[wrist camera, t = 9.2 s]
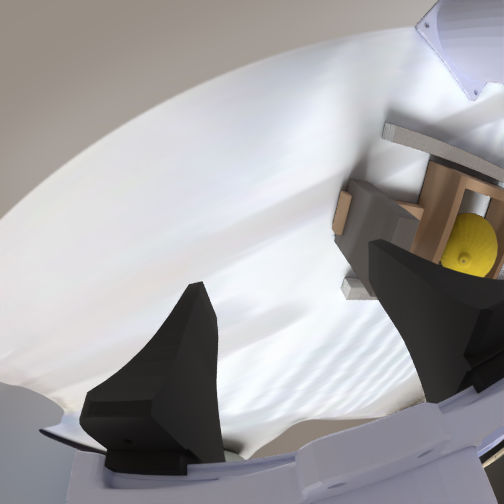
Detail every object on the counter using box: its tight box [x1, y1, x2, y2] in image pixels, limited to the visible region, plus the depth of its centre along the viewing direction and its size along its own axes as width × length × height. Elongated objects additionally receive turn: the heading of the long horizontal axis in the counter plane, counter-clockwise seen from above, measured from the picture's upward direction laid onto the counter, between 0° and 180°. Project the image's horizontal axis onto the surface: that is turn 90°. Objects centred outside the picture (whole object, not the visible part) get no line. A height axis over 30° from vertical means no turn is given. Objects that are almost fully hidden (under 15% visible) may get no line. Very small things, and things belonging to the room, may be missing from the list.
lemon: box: [440, 213, 498, 277], centre depth 20 cm, size 6×6×8 cm
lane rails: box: [341, 123, 504, 300], centre depth 23 cm, size 26×14×2 cm, turn 83°
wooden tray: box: [332, 161, 504, 297], centre depth 19 cm, size 18×11×7 cm, turn 83°
